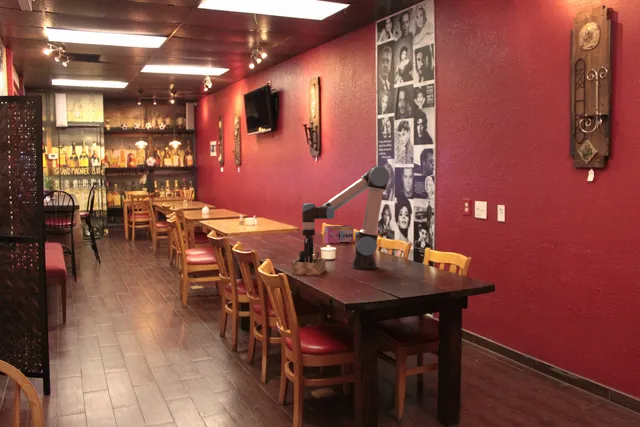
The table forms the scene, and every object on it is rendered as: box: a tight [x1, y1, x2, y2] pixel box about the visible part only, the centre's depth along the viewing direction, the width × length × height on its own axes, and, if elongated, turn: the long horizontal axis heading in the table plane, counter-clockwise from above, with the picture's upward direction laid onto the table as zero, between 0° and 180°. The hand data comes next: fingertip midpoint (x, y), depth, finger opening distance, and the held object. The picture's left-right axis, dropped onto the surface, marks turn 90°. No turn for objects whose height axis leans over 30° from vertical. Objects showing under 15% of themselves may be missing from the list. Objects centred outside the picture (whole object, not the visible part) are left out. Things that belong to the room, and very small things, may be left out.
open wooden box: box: [291, 257, 327, 276], centre depth 359 cm, size 17×17×7 cm
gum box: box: [324, 224, 355, 245], centre depth 483 cm, size 24×8×14 cm, turn 108°
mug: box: [298, 250, 320, 263], centre depth 359 cm, size 8×12×10 cm
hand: (309, 265), depth 359 cm, fingers closed on mug, 8 cm apart
